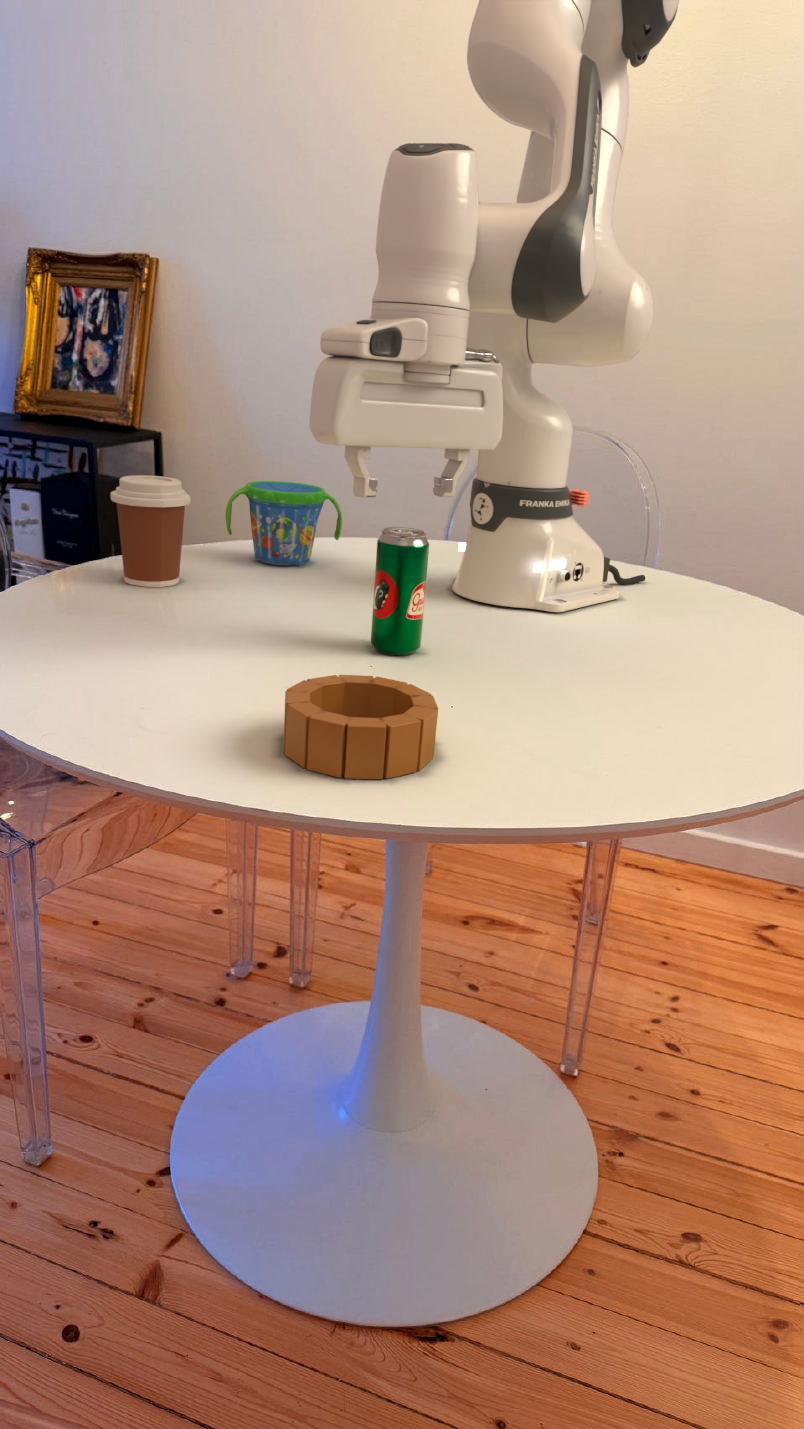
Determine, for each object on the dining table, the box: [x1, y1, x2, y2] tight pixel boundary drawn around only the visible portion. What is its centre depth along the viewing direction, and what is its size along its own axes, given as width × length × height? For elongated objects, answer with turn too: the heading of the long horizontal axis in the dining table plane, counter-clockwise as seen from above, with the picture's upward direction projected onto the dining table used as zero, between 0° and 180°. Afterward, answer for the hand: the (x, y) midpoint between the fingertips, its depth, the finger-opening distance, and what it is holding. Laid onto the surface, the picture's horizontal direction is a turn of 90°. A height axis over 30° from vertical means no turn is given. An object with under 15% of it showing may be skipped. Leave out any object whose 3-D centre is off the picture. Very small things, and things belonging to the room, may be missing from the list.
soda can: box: [370, 526, 430, 657], centre depth 98 cm, size 5×5×12 cm
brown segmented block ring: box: [283, 674, 439, 780], centre depth 74 cm, size 11×11×4 cm
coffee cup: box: [110, 474, 192, 588], centre depth 117 cm, size 9×9×12 cm
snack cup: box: [225, 480, 343, 566], centre depth 133 cm, size 16×10×10 cm
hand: (405, 496), depth 94 cm, fingers open, 8 cm apart
